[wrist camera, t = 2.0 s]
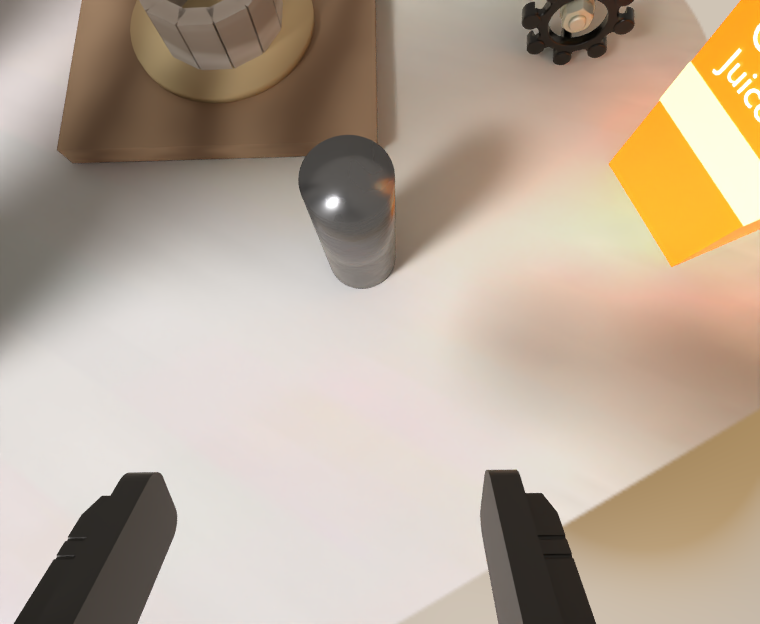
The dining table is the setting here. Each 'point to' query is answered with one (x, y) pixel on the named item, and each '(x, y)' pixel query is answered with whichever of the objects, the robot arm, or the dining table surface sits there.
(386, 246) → the grey metal cylinder
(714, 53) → the orange juice
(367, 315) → the dining table surface
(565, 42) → the valve
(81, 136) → the socket fitting
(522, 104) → the dining table surface
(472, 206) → the dining table surface
